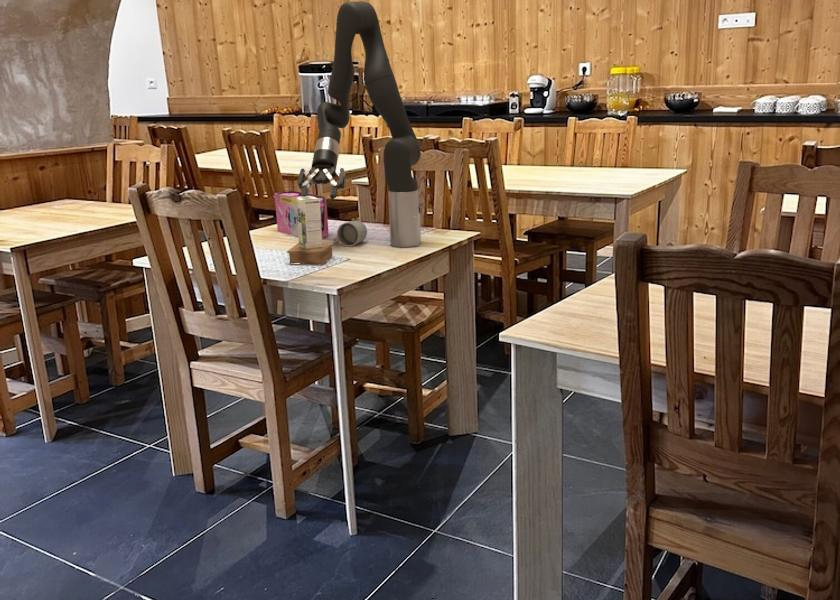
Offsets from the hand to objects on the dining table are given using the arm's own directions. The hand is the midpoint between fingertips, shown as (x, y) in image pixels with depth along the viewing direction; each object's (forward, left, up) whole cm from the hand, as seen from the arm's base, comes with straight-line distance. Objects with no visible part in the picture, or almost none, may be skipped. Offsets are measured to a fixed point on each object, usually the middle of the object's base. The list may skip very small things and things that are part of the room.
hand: (318, 198), depth 236 cm
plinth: (0, +10, -17) cm, 20 cm away
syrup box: (0, +10, -13) cm, 16 cm away
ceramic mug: (-6, -12, -17) cm, 22 cm away
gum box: (+15, -27, -17) cm, 35 cm away
